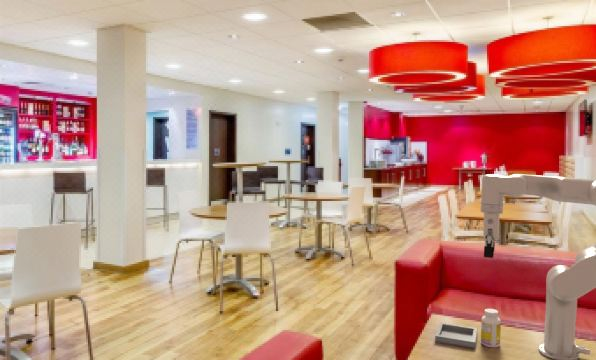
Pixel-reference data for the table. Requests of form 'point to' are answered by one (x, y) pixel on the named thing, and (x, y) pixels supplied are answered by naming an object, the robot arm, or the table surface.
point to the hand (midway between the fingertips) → (489, 254)
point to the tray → (456, 335)
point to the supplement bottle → (490, 328)
